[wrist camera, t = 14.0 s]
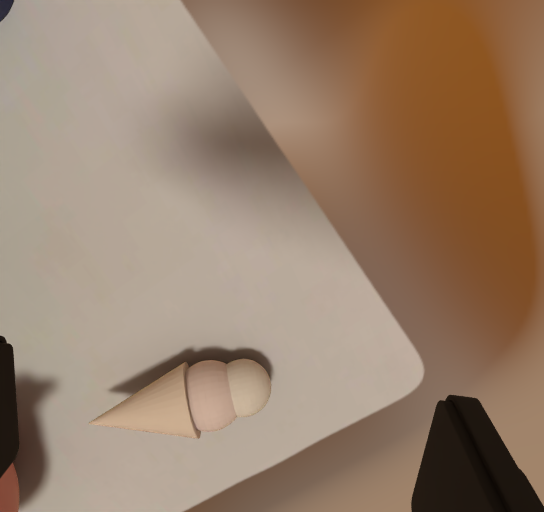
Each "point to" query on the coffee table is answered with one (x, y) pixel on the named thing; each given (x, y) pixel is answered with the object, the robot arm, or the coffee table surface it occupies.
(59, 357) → the coffee table surface
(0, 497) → the balloon
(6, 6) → the water bottle
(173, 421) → the ice cream cone
